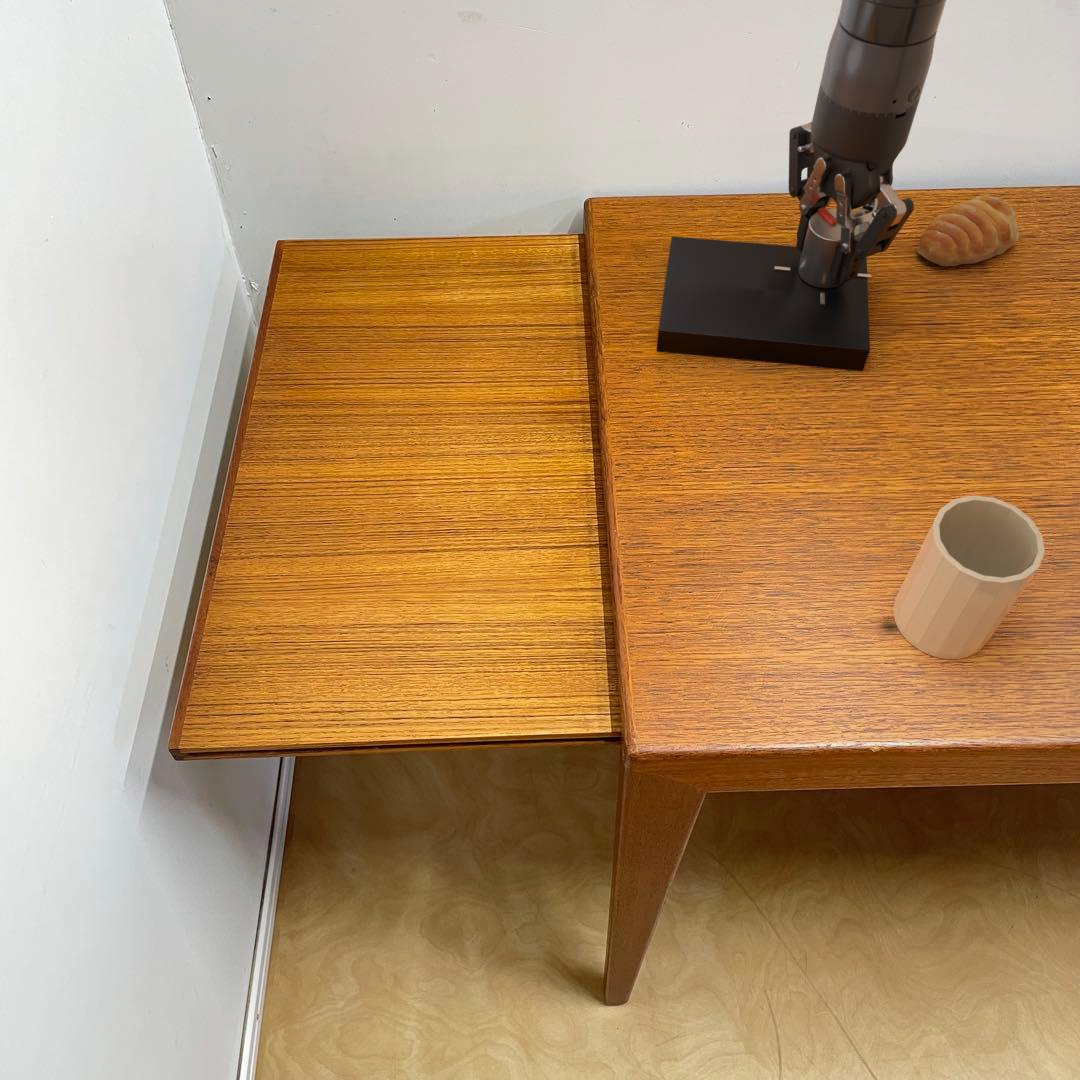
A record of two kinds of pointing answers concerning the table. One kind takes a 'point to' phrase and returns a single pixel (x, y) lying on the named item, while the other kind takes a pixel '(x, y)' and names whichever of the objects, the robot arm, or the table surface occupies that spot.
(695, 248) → the hob
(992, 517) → the cup
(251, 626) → the table surface
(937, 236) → the pastry
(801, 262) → the knob
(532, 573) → the table surface
